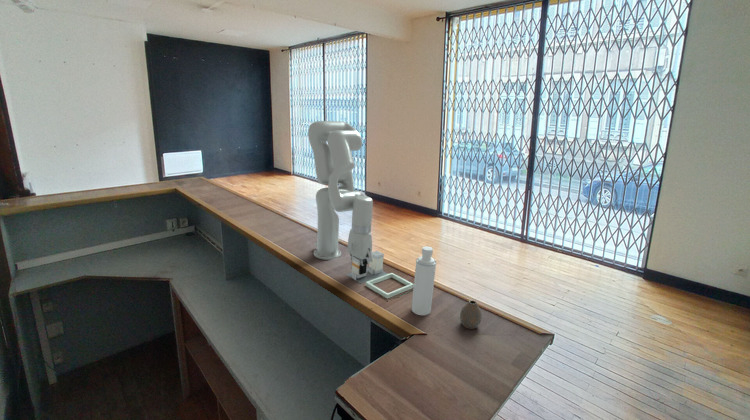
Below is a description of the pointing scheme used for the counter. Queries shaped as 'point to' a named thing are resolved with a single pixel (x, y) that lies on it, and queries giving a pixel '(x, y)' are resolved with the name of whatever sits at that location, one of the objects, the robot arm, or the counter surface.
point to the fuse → (377, 262)
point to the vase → (471, 315)
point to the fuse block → (367, 275)
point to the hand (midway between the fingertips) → (358, 270)
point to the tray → (393, 293)
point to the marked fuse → (356, 267)
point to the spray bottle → (424, 282)
